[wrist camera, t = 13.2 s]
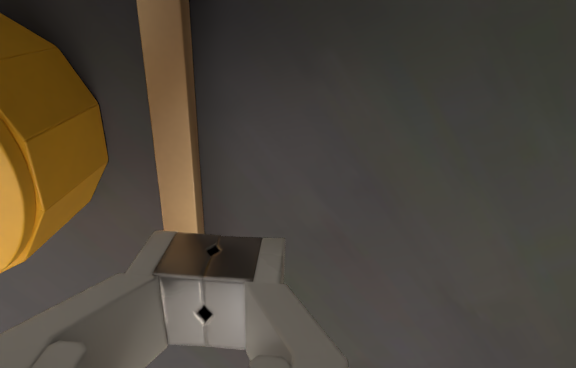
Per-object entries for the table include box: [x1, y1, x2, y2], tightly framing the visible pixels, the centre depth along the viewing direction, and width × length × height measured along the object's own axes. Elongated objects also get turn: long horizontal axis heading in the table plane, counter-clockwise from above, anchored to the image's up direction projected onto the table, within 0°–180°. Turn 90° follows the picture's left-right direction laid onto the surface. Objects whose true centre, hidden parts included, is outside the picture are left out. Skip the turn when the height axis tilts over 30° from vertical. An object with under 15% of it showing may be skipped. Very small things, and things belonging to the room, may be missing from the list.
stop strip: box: [136, 0, 204, 234], centre depth 16 cm, size 2×16×1 cm, turn 178°
